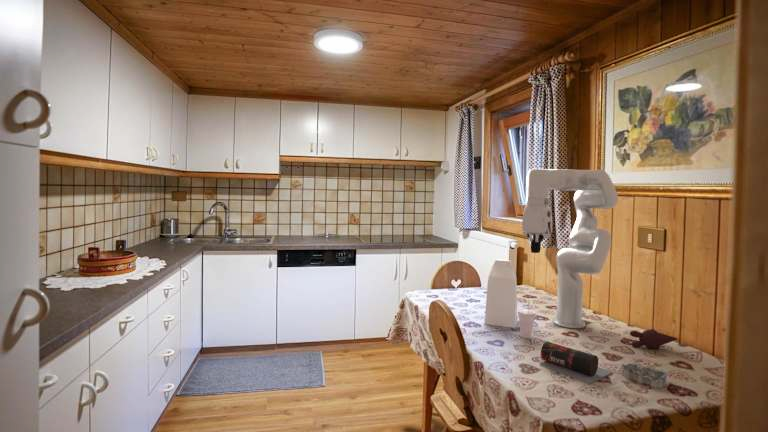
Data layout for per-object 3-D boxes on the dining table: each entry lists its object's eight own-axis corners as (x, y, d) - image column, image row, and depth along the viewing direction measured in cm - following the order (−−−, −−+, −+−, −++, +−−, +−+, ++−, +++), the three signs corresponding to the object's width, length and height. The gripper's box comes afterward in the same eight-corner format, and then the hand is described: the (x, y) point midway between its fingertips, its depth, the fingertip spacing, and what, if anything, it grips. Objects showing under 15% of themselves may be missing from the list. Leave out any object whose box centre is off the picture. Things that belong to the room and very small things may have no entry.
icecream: (669, 327, 148) (625, 328, 151) (680, 329, 141) (633, 329, 144) (673, 347, 147) (628, 348, 149) (684, 350, 140) (636, 350, 142)
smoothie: (536, 340, 150) (537, 302, 150) (517, 339, 152) (519, 301, 151) (533, 334, 157) (534, 298, 156) (515, 333, 158) (517, 297, 157)
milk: (484, 323, 169) (486, 261, 168) (488, 316, 180) (490, 257, 178) (514, 327, 164) (517, 263, 163) (517, 319, 175) (519, 259, 174)
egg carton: (618, 377, 122) (619, 363, 122) (629, 371, 126) (630, 357, 126) (659, 391, 113) (660, 376, 113) (669, 383, 118) (670, 369, 118)
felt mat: (562, 355, 137) (563, 354, 137) (612, 373, 124) (612, 372, 124) (539, 364, 129) (539, 363, 129) (589, 384, 116) (590, 382, 116)
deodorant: (551, 349, 135) (599, 364, 123) (543, 363, 132) (592, 380, 120) (546, 337, 132) (595, 351, 121) (538, 351, 129) (588, 367, 118)
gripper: (562, 203, 146) (560, 254, 147) (526, 202, 159) (524, 249, 160) (550, 203, 142) (547, 256, 143) (513, 202, 154) (512, 250, 155)
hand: (535, 252), depth 151 cm, fingers closed
